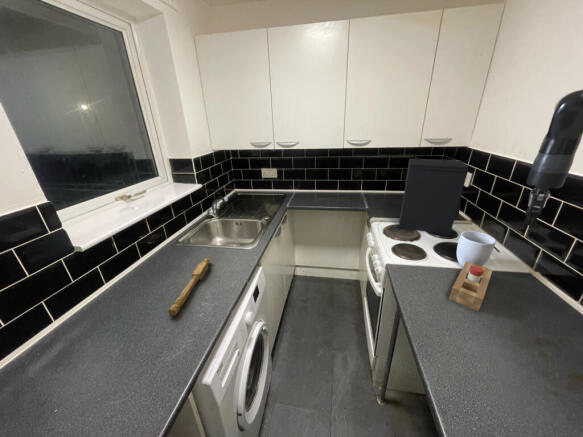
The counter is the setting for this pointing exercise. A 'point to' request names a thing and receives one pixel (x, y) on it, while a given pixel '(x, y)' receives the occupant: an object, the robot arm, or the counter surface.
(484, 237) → the mug
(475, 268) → the red capped shaker
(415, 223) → the tall black box
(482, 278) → the holder
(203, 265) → the tap handle
